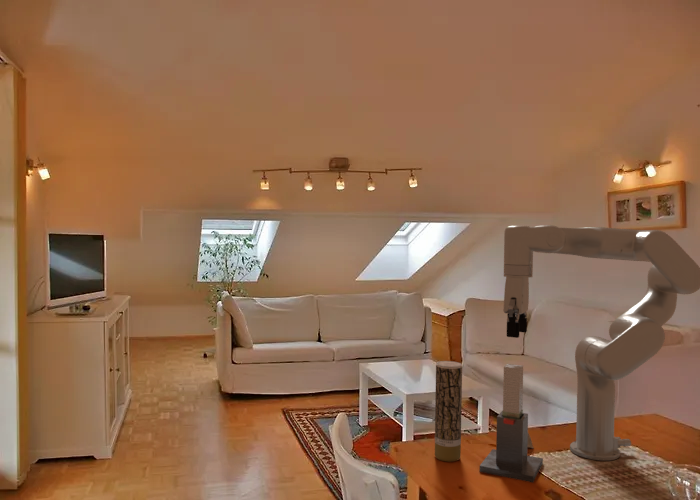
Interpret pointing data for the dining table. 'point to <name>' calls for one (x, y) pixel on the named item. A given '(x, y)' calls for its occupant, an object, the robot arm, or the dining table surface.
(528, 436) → the decorative ornament
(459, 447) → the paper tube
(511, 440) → the stand
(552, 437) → the dining table surface
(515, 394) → the column
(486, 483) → the dining table surface
